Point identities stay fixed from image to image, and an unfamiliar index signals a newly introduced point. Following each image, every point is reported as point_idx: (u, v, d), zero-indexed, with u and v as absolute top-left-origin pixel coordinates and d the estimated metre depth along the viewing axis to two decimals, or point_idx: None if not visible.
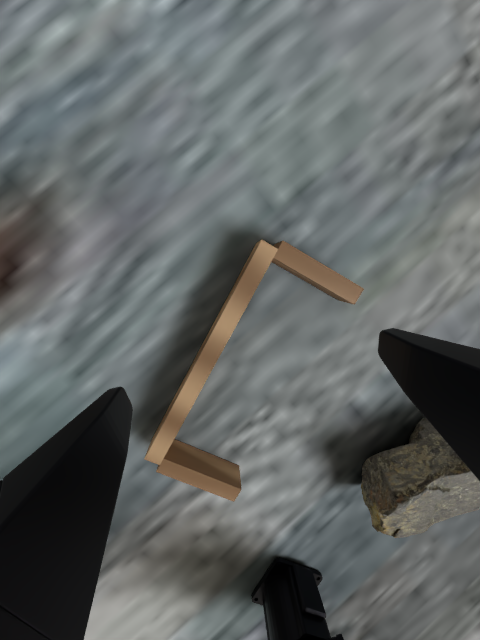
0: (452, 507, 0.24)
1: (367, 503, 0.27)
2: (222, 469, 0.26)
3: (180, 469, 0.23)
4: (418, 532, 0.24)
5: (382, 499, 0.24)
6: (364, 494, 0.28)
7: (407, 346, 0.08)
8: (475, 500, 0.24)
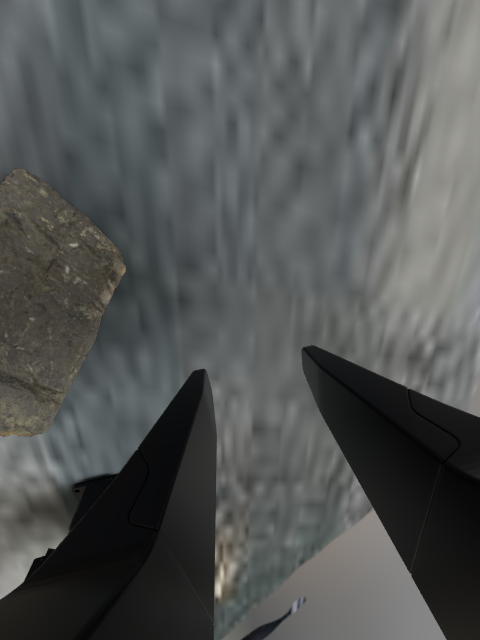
0: (42, 364, 0.15)
1: None
2: None
3: None
4: (49, 414, 0.17)
5: None
6: None
7: (316, 366, 0.07)
8: (49, 336, 0.14)
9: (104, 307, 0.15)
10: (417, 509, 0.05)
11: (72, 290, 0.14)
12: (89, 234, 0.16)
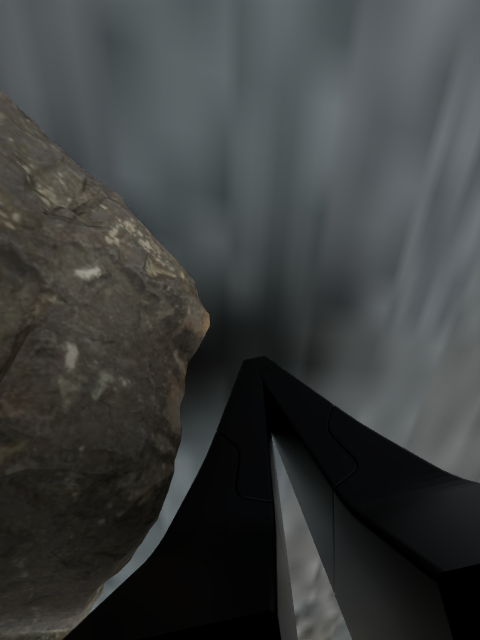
0: (7, 616, 0.05)
1: None
2: None
3: None
4: None
5: None
6: None
7: None
8: (21, 575, 0.04)
9: (177, 442, 0.05)
10: (328, 531, 0.05)
11: (92, 430, 0.04)
12: (128, 239, 0.06)
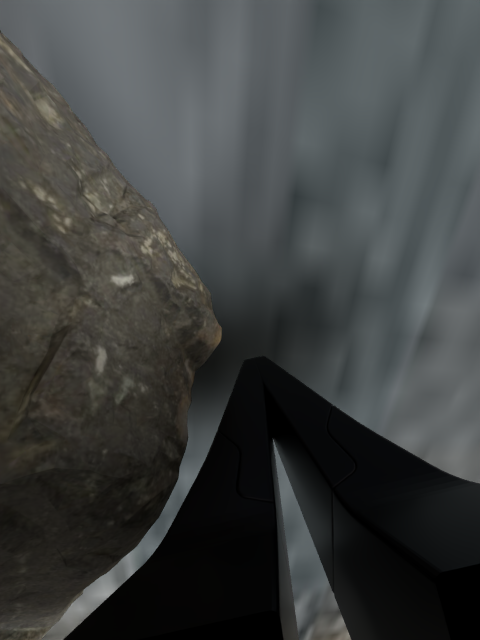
0: None
1: None
2: None
3: None
4: None
5: None
6: None
7: None
8: (20, 570, 0.04)
9: (183, 450, 0.06)
10: (327, 531, 0.05)
11: (114, 433, 0.04)
12: (159, 249, 0.06)
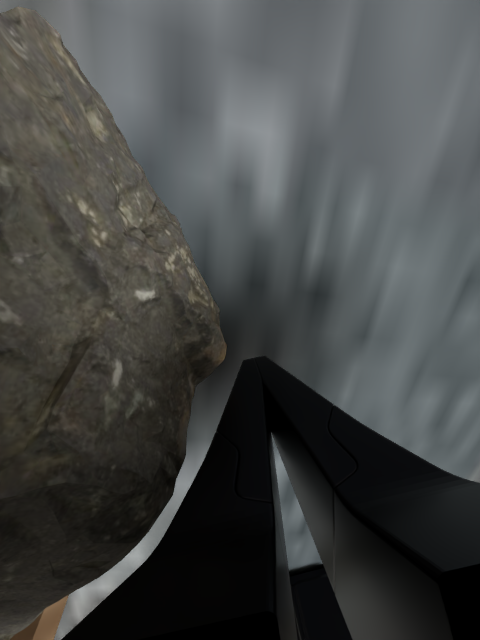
0: None
1: None
2: None
3: None
4: None
5: None
6: None
7: None
8: (5, 579, 0.04)
9: (180, 466, 0.06)
10: (328, 531, 0.05)
11: (123, 449, 0.04)
12: (180, 266, 0.06)
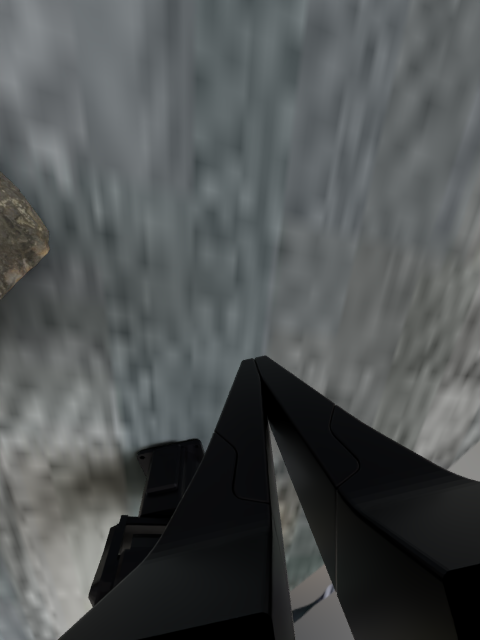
0: None
1: None
2: None
3: None
4: None
5: None
6: None
7: (260, 378, 0.07)
8: None
9: (7, 287, 0.14)
10: (330, 530, 0.05)
11: None
12: (11, 205, 0.14)
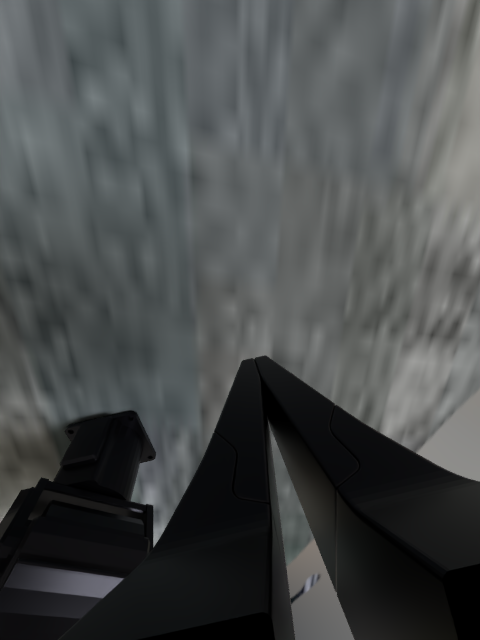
0: None
1: None
2: None
3: None
4: None
5: None
6: None
7: (260, 378, 0.07)
8: None
9: None
10: (330, 530, 0.05)
11: None
12: None
